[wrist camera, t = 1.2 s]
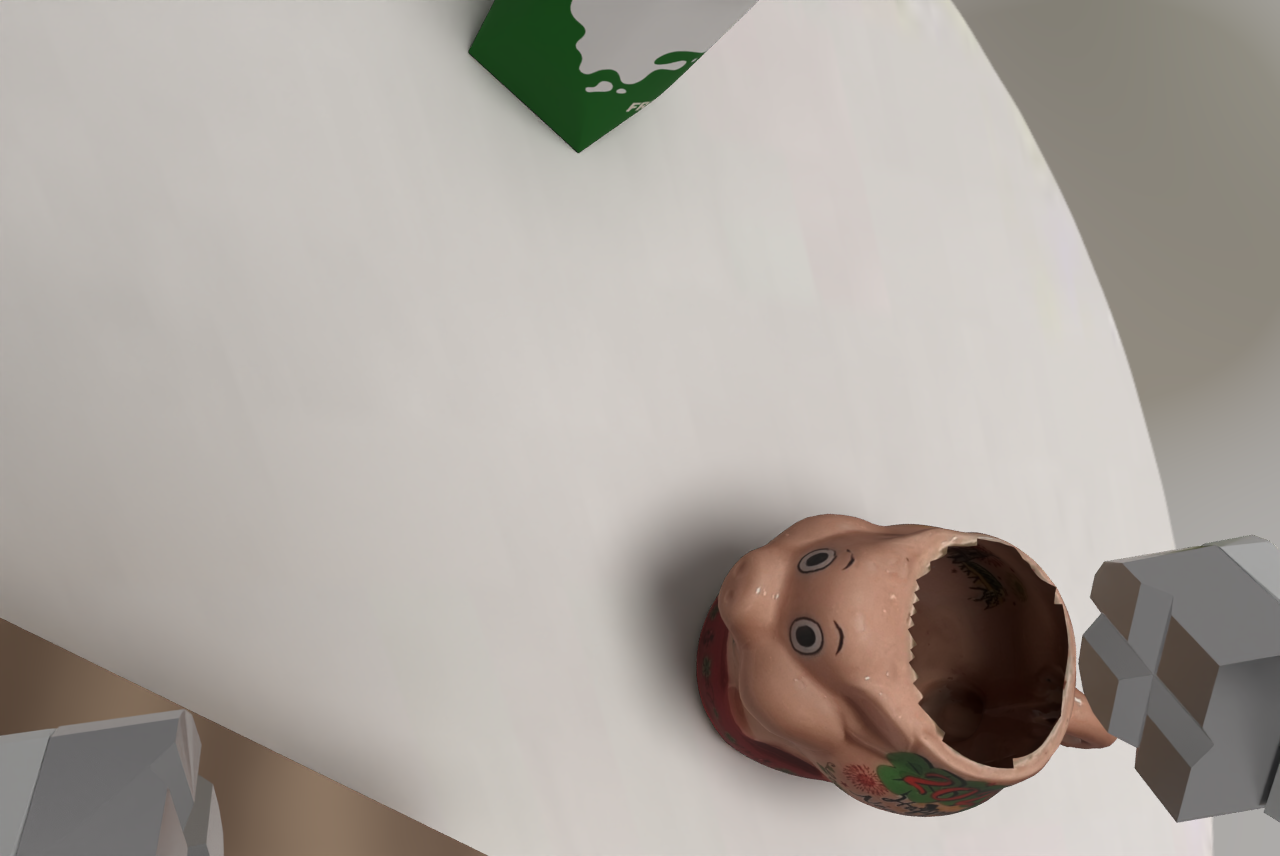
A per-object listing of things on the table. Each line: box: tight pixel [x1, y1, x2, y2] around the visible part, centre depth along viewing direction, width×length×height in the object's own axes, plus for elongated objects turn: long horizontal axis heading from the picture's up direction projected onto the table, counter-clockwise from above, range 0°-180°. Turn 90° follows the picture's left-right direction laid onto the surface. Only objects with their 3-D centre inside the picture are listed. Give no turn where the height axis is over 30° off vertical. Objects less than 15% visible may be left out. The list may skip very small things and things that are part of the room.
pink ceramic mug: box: [697, 514, 1117, 817], centre depth 54 cm, size 20×12×14 cm, turn 78°
